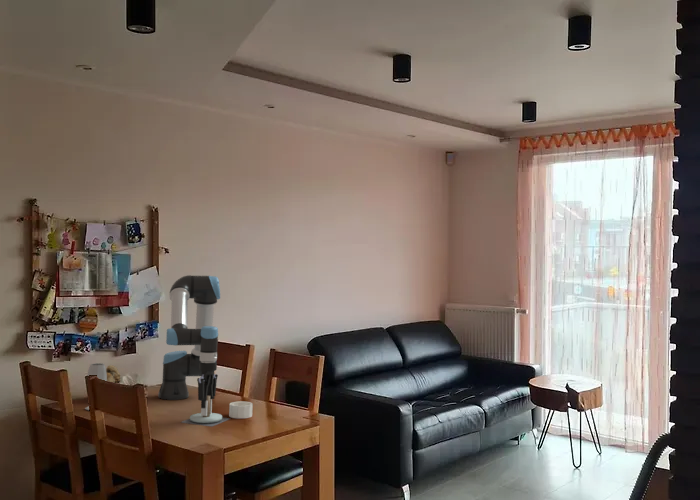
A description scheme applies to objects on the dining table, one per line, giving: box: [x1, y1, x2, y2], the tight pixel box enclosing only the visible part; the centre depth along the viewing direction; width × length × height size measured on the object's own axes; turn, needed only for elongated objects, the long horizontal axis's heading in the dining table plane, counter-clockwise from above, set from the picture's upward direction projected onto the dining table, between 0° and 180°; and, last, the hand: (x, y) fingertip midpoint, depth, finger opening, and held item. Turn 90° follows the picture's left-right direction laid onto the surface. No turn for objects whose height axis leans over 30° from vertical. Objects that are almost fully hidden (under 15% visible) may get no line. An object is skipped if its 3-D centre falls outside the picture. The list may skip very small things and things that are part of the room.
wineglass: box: [84, 362, 107, 411], centre depth 307 cm, size 9×9×21 cm
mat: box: [180, 417, 231, 427], centre depth 291 cm, size 16×16×1 cm
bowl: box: [228, 401, 253, 419], centre depth 303 cm, size 10×10×6 cm
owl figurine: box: [106, 364, 121, 384], centre depth 329 cm, size 18×12×17 cm, turn 21°
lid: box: [189, 395, 223, 423], centre depth 292 cm, size 14×14×10 cm
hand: (206, 414), depth 291 cm, fingers closed on lid, 3 cm apart
